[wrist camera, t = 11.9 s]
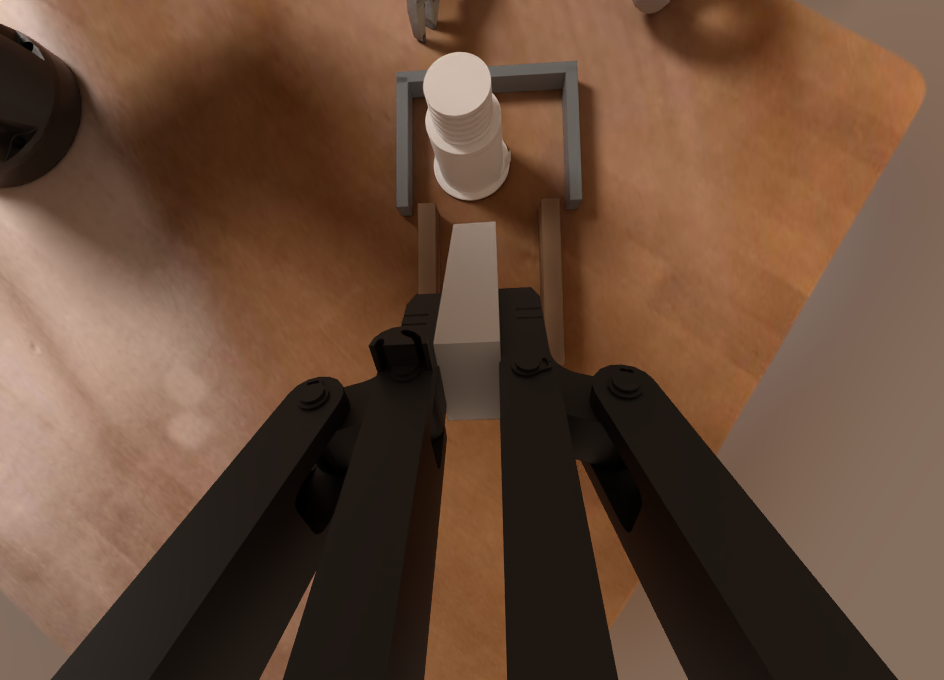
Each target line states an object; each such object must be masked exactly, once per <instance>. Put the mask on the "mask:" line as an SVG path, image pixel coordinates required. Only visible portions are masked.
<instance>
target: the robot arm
mask: <svg viewBox="0 0 944 680" xmlns="http://www.w3.org/2000/svg"><path fill="white" fill-rule="evenodd" d="M80 112H81V100H80V93H79V88H78V85H77V82H76V80H75V78H74V76H73V74H72V72H71V71H70V69H69V68H68V66H67V65H66V64H65V63H64V62H63V61H62V60H61V59H60V58H59V57H57V56H56V55H54V54H53V53H52V52H50V51H49V50H47V49H46V48H45V47H43V46H42V45H40V44H39V43H37V42H36V41H35V40H33V39H32V38H30V37H28V36H26V35H25V34H23V33H21V32H19V31H16V30H14V29H12V28H10V27H7V26H5V25H3V24H0V187H12V186H17V185H21V184H24V183H27V182H30V181H32V180H34V179H36V178H38V177H39V176H41V175H43V174H44V173H46V172H47V171H48V170H49V169H51V168H52V167H53V166H54V165H55V164H56V163H57V162H58V161H59V160H60V159H61V158H62V156H63V155H64V154H65V152H66V151H67V149H68V148H69V146H70V144H71V143H72V141H73V138H74V136H75V134H76V131H77V128H78V124H79V120H80ZM369 348H370V351H371V354H372V357H373V360H374V363H375V366H376V369H377V372H378V373H377V376H376V377H374V378H372V379H370V380H367V381H364V382H361V383H358V384H354V385H351V386H347V387H343V385H342V384H341V383H340V382H339V381H338V380H337V379H334V378H331V377H317V378H313V379H310V380H307V381H305V382H303V383H301V384H300V385H298V386H297V387H295V388H294V389H293V390H292V391H291V392H290V393H289V394H288V395H287V396H286V398H285V399H284V400H283V401H282V402H281V404H280V405H279V406H278V407H277V408H276V410H275V411H274V412H273V413H272V414H271V416H270V417H269V418H268V419H267V420H266V422H265V423H264V424H263V425H262V426H261V428H260V429H259V430H258V431H257V432H256V434H255V435H254V436H253V437H252V438H251V440H250V441H249V442H248V443H247V444H246V446H245V447H244V448H243V449H242V450H241V452H240V453H239V454H238V455H237V456H236V458H235V459H234V460H233V461H232V462H231V464H230V465H229V466H228V467H227V468H226V470H225V471H224V472H223V473H222V475H221V476H220V477H219V478H218V479H217V481H216V482H215V483H214V484H213V485H212V487H211V488H210V489H209V490H208V491H207V493H206V494H205V495H204V496H203V497H202V499H201V500H200V501H199V502H198V503H197V505H196V506H195V507H194V508H193V509H192V511H191V512H190V513H189V514H188V515H187V517H186V518H185V519H184V520H183V521H182V523H181V524H180V525H179V526H178V527H177V529H176V530H175V531H174V532H173V533H172V535H171V536H170V537H169V538H168V539H167V541H166V542H165V543H164V544H163V545H162V547H161V548H160V549H159V550H158V551H157V553H156V554H155V555H154V556H153V557H152V559H151V560H150V561H149V562H148V563H147V565H146V566H145V567H144V568H143V569H142V571H141V572H140V573H139V574H138V575H137V577H136V578H135V579H134V580H133V581H132V583H131V584H130V585H129V586H128V587H127V589H126V590H125V591H124V592H123V594H122V595H121V596H120V597H119V598H118V600H117V601H116V602H115V603H114V604H113V606H112V607H111V608H110V609H109V610H108V612H107V613H106V614H105V615H104V616H103V618H102V619H101V620H100V621H99V622H98V624H97V625H96V626H95V627H94V628H93V630H92V631H91V632H90V633H89V634H88V636H87V637H86V638H85V639H84V640H83V642H82V643H81V644H80V645H79V646H78V648H77V649H76V650H75V651H74V652H73V654H72V655H71V656H70V657H69V658H68V660H67V661H66V662H65V663H64V664H63V666H62V667H61V668H60V669H59V670H58V672H57V673H56V674H55V675H54V676H53V678H52V679H51V680H259V679H260V677H261V675H262V673H263V671H264V669H265V667H266V665H267V663H268V662H269V660H270V658H271V656H272V654H273V652H274V650H275V648H276V646H277V644H278V642H279V641H280V639H281V637H282V635H283V633H284V631H285V629H286V627H287V625H288V623H289V621H290V619H291V618H292V616H293V614H294V612H295V610H296V608H297V606H298V604H299V602H300V600H301V598H302V597H303V595H304V593H305V591H306V589H307V587H308V585H309V583H310V581H311V579H312V577H313V576H314V574H315V572H316V574H315V577H314V580H313V583H312V587H311V590H310V593H309V596H308V600H307V603H306V606H305V609H304V613H303V616H302V619H301V622H300V626H299V629H298V632H297V635H296V639H295V642H294V645H293V648H292V652H291V655H290V658H289V661H288V665H287V668H286V671H285V674H284V678H283V680H424V675H425V665H426V654H427V643H428V633H429V622H430V612H431V601H432V591H433V580H434V569H435V559H436V548H437V538H438V527H439V517H440V506H441V495H442V485H443V474H444V464H445V453H446V443H447V435H446V429H445V416H446V412H447V418H448V420H484V419H500V430H501V467H502V504H503V541H504V578H505V615H506V652H507V680H618V676H617V671H616V666H615V661H614V656H613V651H612V645H611V640H610V635H609V630H608V625H607V620H606V614H605V609H604V604H603V599H602V594H601V589H600V584H599V579H598V573H597V568H596V563H595V558H594V553H593V548H592V543H591V537H590V532H589V527H588V522H587V517H586V512H585V507H584V502H583V496H582V491H581V486H580V481H579V476H578V471H577V466H576V461H575V459H577V460H581V461H582V464H583V466H584V468H585V470H586V472H587V474H588V476H589V478H590V480H591V482H592V484H593V486H594V488H595V490H596V492H597V495H598V497H599V499H600V501H601V503H602V505H603V507H604V509H605V511H606V513H607V515H608V517H609V519H610V521H611V523H612V525H613V527H614V529H615V531H616V533H617V535H618V537H619V539H620V541H621V543H622V545H623V547H624V550H625V552H626V554H627V556H628V558H629V560H630V562H631V564H632V566H633V568H634V570H635V572H636V574H637V576H638V578H639V580H640V582H641V584H642V586H643V588H644V590H645V592H646V594H647V596H648V598H649V600H650V602H651V605H652V607H653V609H654V611H655V613H656V615H657V617H658V619H659V621H660V623H661V625H662V627H663V629H664V631H665V633H666V635H667V637H668V639H669V641H670V643H671V645H672V647H673V649H674V651H675V653H676V655H677V657H678V659H679V662H680V664H681V665H682V667H683V670H684V672H685V674H686V676H687V678H688V680H898V679H897V678H896V676H895V675H894V674H893V673H892V672H891V671H890V669H889V668H888V667H887V665H886V664H885V663H884V662H883V661H882V659H881V658H880V657H879V656H878V654H877V653H876V652H875V651H874V650H873V648H872V647H871V646H870V645H869V644H868V642H867V641H866V640H865V639H864V637H863V636H862V635H861V634H860V632H859V631H858V630H857V629H856V627H855V626H854V625H853V624H852V622H851V621H850V620H849V619H848V618H847V616H846V615H845V614H844V613H843V611H842V610H841V609H840V608H839V607H838V605H837V604H836V603H835V602H834V600H833V599H832V598H831V597H830V595H829V594H828V593H827V592H826V591H825V589H824V588H823V587H822V586H821V584H820V583H819V582H818V581H817V579H816V578H815V577H814V576H813V575H812V573H811V572H810V571H809V570H808V568H807V567H806V566H805V565H804V564H803V562H802V561H801V560H800V559H799V557H798V556H797V555H796V554H795V552H794V551H793V550H792V549H791V548H790V546H789V545H788V544H787V543H786V542H785V540H784V539H783V538H782V537H781V535H780V534H779V533H778V532H777V530H776V529H775V528H774V527H773V525H772V524H771V523H770V522H769V521H768V519H767V518H766V517H765V516H764V514H763V513H762V512H761V511H760V510H759V508H758V507H757V506H756V505H755V503H754V502H753V501H752V500H751V499H750V497H749V496H748V495H747V494H746V492H745V491H744V490H743V489H742V487H741V486H740V485H739V484H738V482H737V481H736V480H735V479H734V478H733V476H732V475H731V474H730V473H729V471H728V470H727V469H726V468H725V467H724V465H723V464H722V463H721V462H720V460H719V459H718V458H717V457H716V455H715V454H714V453H713V452H712V451H711V449H710V448H709V447H708V446H707V444H706V443H705V442H704V441H703V439H702V438H701V437H700V436H699V435H698V433H697V432H696V431H695V430H694V428H693V427H692V426H691V425H690V424H689V422H688V421H687V420H686V419H685V417H684V416H683V415H682V414H681V412H680V411H679V410H678V409H677V408H676V406H675V405H674V404H673V403H672V401H671V400H670V399H669V398H668V396H667V395H666V394H665V393H664V392H663V390H662V389H661V388H660V387H659V385H658V384H657V383H656V382H655V381H654V379H652V378H651V377H650V376H649V375H648V374H647V373H646V372H644V371H641V370H639V369H637V368H635V367H632V366H626V365H609V366H607V367H604V368H602V369H600V370H599V371H598V372H597V373H596V374H595V375H594V376H589V375H584V374H579V373H576V372H572V371H569V370H567V369H565V368H563V367H562V366H560V365H559V364H558V363H557V362H556V361H555V360H554V358H553V357H552V356H551V353H550V349H549V344H548V338H547V333H546V328H545V322H544V319H543V311H542V306H541V301H540V296H539V295H538V294H537V293H536V292H535V291H534V290H533V289H532V288H531V287H525V288H506V289H498V268H497V245H496V223H495V222H481V223H465V224H453V230H452V236H451V242H450V248H449V254H448V260H447V266H446V271H445V277H444V283H443V289H442V293H432V294H416V295H415V296H414V297H413V298H412V300H411V301H410V302H409V303H408V304H407V306H406V310H405V313H404V317H403V320H402V326H401V327H396V328H391V329H389V330H386V331H384V332H382V333H380V334H379V335H378V336H376V337H375V338H374V339H373V340H372V342H371V343H370V345H369ZM316 570H317V571H316Z"/></svg>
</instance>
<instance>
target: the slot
mask: <svg viewBox="0 0 944 680" xmlns="http://www.w3.org/2000/svg"><path fill="white" fill-rule="evenodd" d="M538 225H539V260H540V295H541V306H542V311H543V319H544V322H545V328H546V333H547V338H548V344H549V349H550V353H551V356H552V357H553V358H554V360H555V361H556V362H557V363H558V364H559V365H565V352H564V321H563V291H562V261H561V231H560V201H559V198H541V202H540V205H539V209H538ZM432 293H440V214H439V212H438V209H437V206H436V203H418V294H432Z"/></svg>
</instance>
